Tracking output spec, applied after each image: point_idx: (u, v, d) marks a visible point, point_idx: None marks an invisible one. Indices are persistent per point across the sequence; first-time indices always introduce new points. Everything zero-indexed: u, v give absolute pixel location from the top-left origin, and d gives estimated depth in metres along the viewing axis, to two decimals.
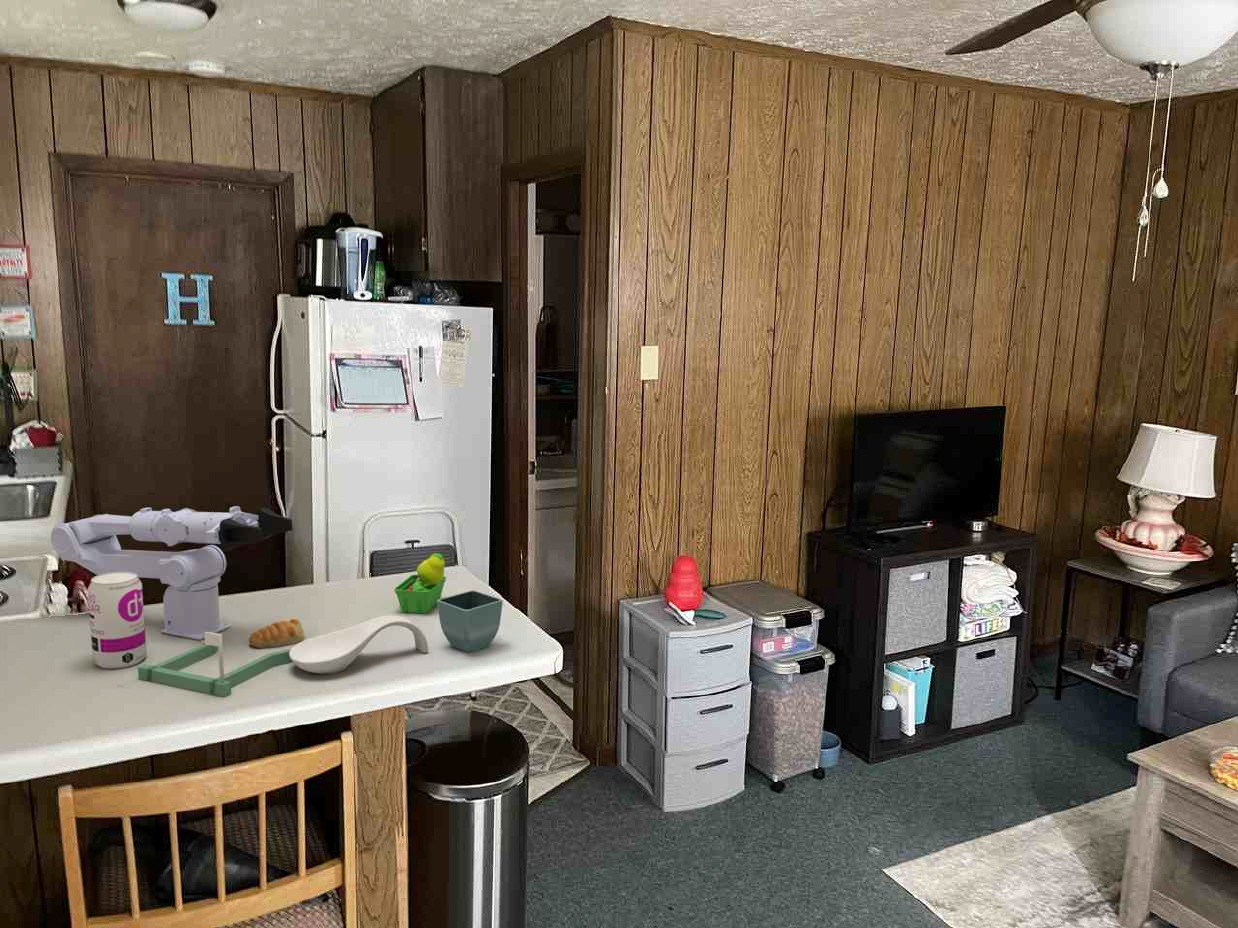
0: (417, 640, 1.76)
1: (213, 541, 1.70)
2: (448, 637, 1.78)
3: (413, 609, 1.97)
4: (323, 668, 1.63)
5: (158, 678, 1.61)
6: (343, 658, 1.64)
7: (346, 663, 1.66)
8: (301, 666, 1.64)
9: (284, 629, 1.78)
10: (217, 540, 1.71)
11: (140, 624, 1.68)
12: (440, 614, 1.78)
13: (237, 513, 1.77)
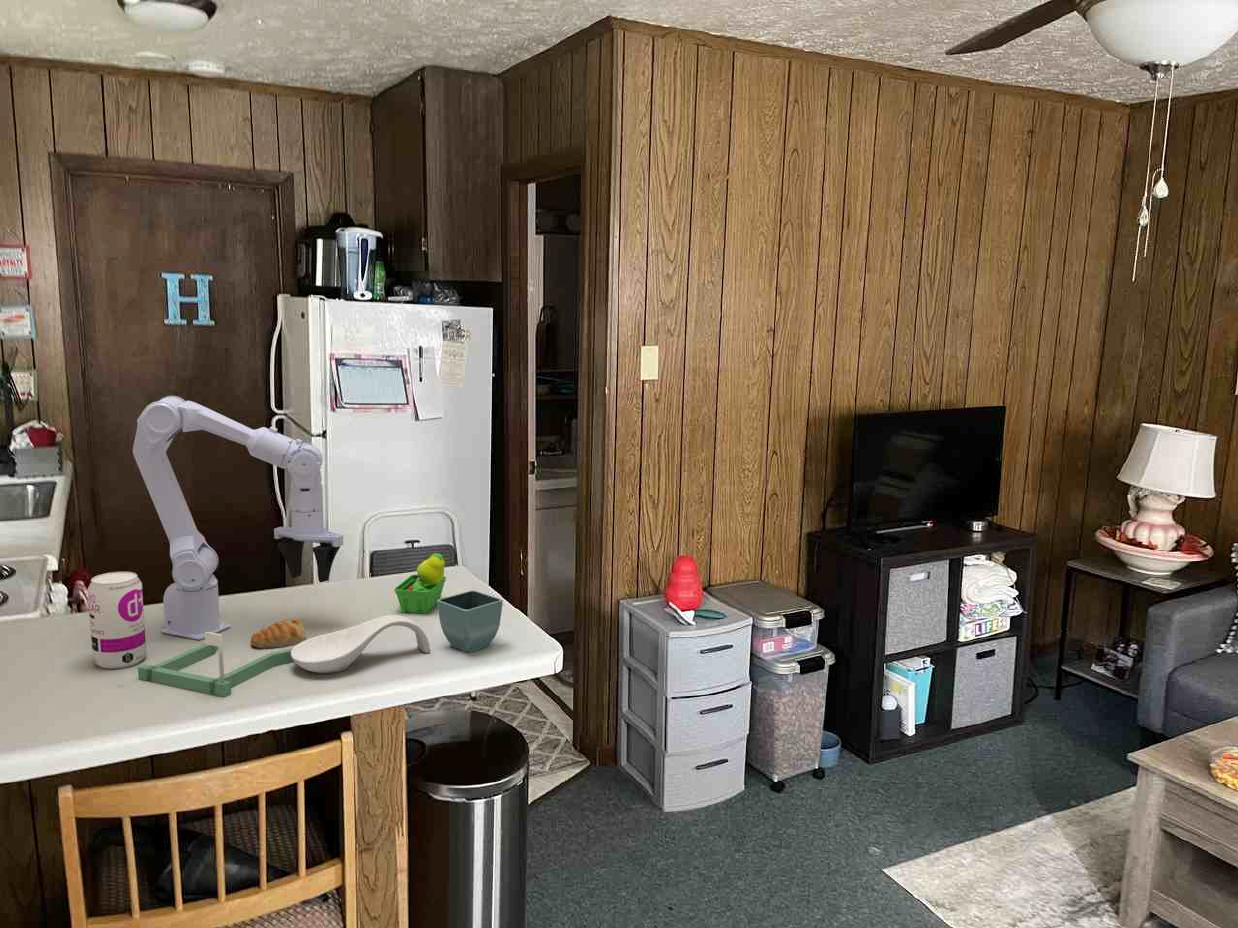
0: (419, 640, 1.76)
1: (338, 545, 1.83)
2: (448, 637, 1.78)
3: (413, 609, 1.97)
4: (324, 668, 1.64)
5: (158, 678, 1.61)
6: (344, 658, 1.65)
7: (347, 663, 1.66)
8: (302, 665, 1.64)
9: (285, 629, 1.78)
10: None
11: (140, 624, 1.68)
12: (440, 614, 1.78)
13: None
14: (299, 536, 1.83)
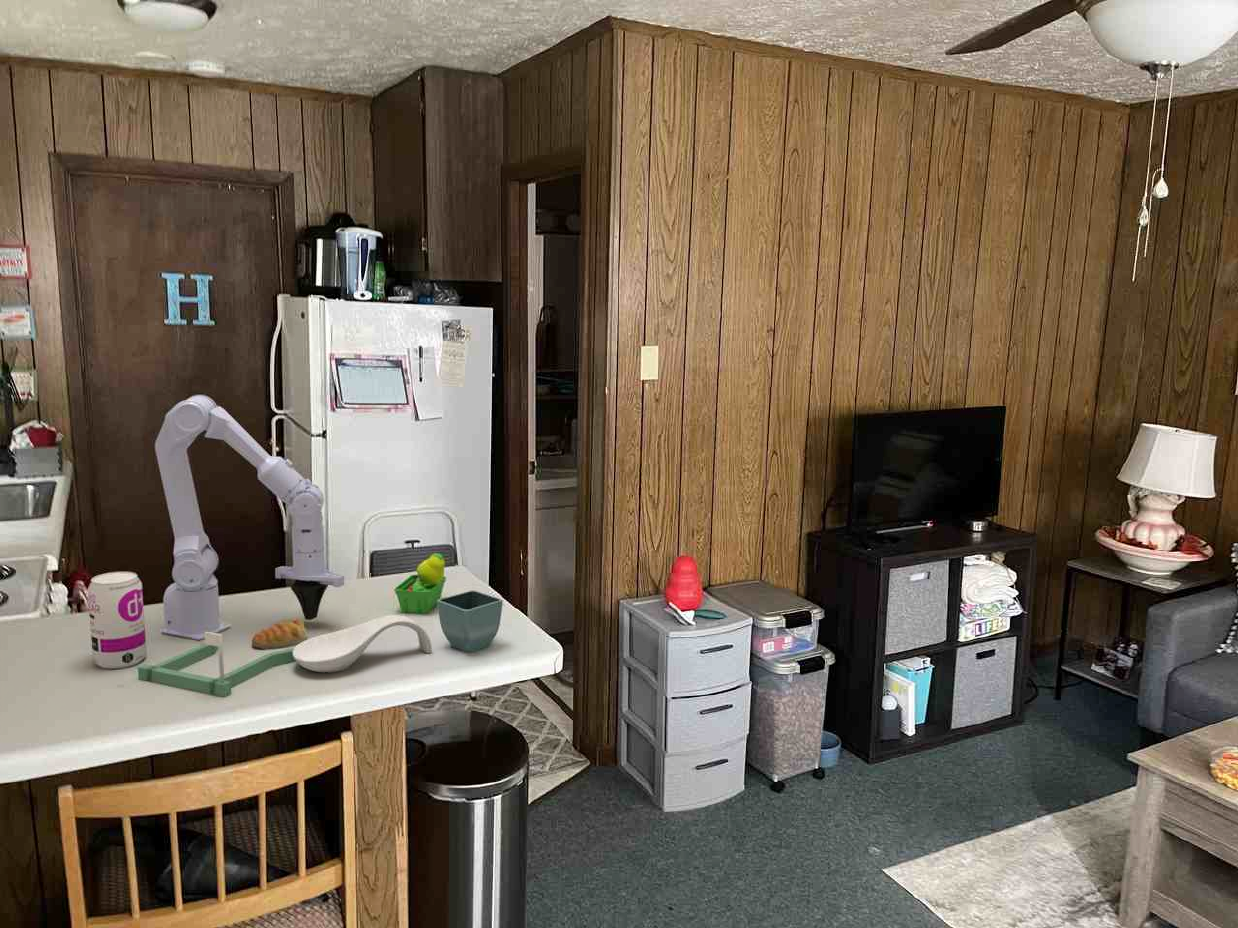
0: (421, 640, 1.76)
1: (338, 585, 1.84)
2: (448, 637, 1.78)
3: (413, 609, 1.97)
4: (325, 667, 1.64)
5: (158, 678, 1.61)
6: (345, 657, 1.65)
7: (348, 662, 1.67)
8: (303, 665, 1.64)
9: (287, 629, 1.78)
10: (335, 586, 1.84)
11: (140, 624, 1.68)
12: (440, 614, 1.78)
13: None
14: (300, 577, 1.84)
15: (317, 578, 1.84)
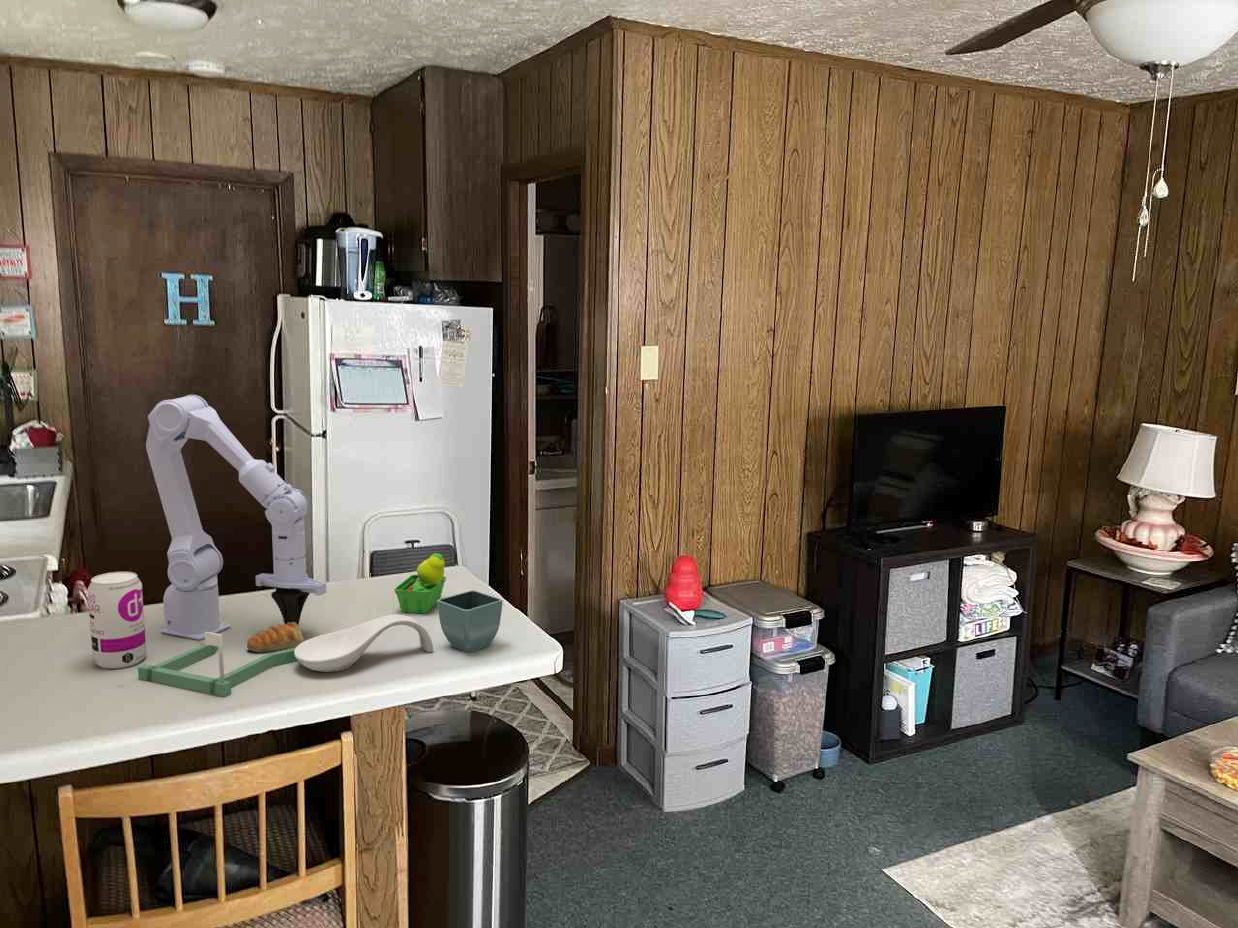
0: (422, 639, 1.77)
1: (320, 593, 1.79)
2: (448, 637, 1.78)
3: (413, 609, 1.97)
4: (327, 667, 1.64)
5: (158, 678, 1.61)
6: (347, 657, 1.65)
7: (350, 662, 1.67)
8: (305, 664, 1.65)
9: (283, 632, 1.76)
10: (317, 594, 1.79)
11: (140, 624, 1.68)
12: (440, 614, 1.78)
13: None
14: (281, 584, 1.79)
15: (298, 586, 1.79)
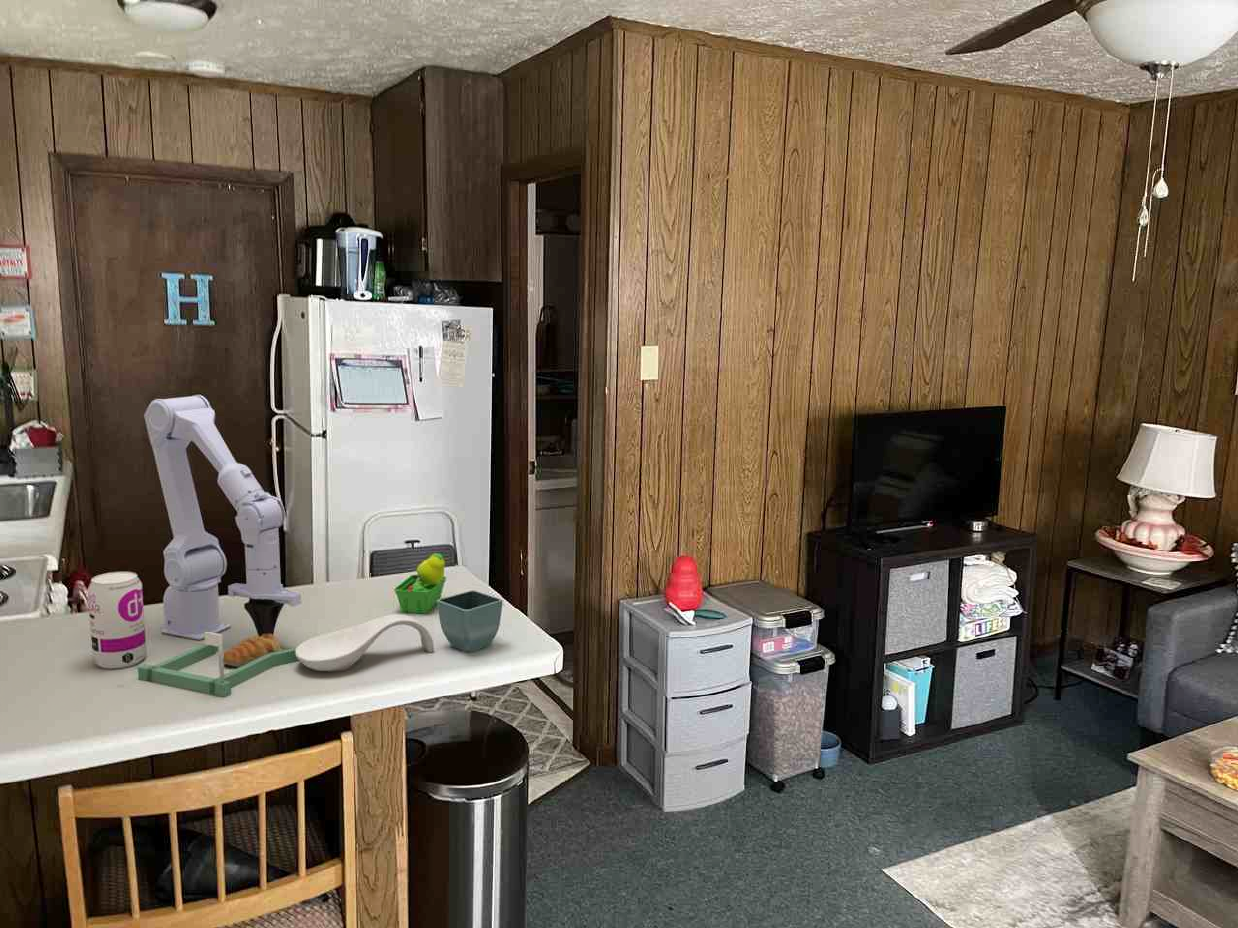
0: (423, 639, 1.77)
1: (295, 604, 1.73)
2: (448, 637, 1.78)
3: (413, 609, 1.97)
4: (328, 666, 1.65)
5: (158, 678, 1.61)
6: (348, 656, 1.65)
7: (351, 661, 1.67)
8: (306, 664, 1.65)
9: (261, 644, 1.70)
10: (291, 605, 1.73)
11: (140, 624, 1.68)
12: (440, 614, 1.78)
13: None
14: (254, 595, 1.73)
15: (272, 597, 1.73)
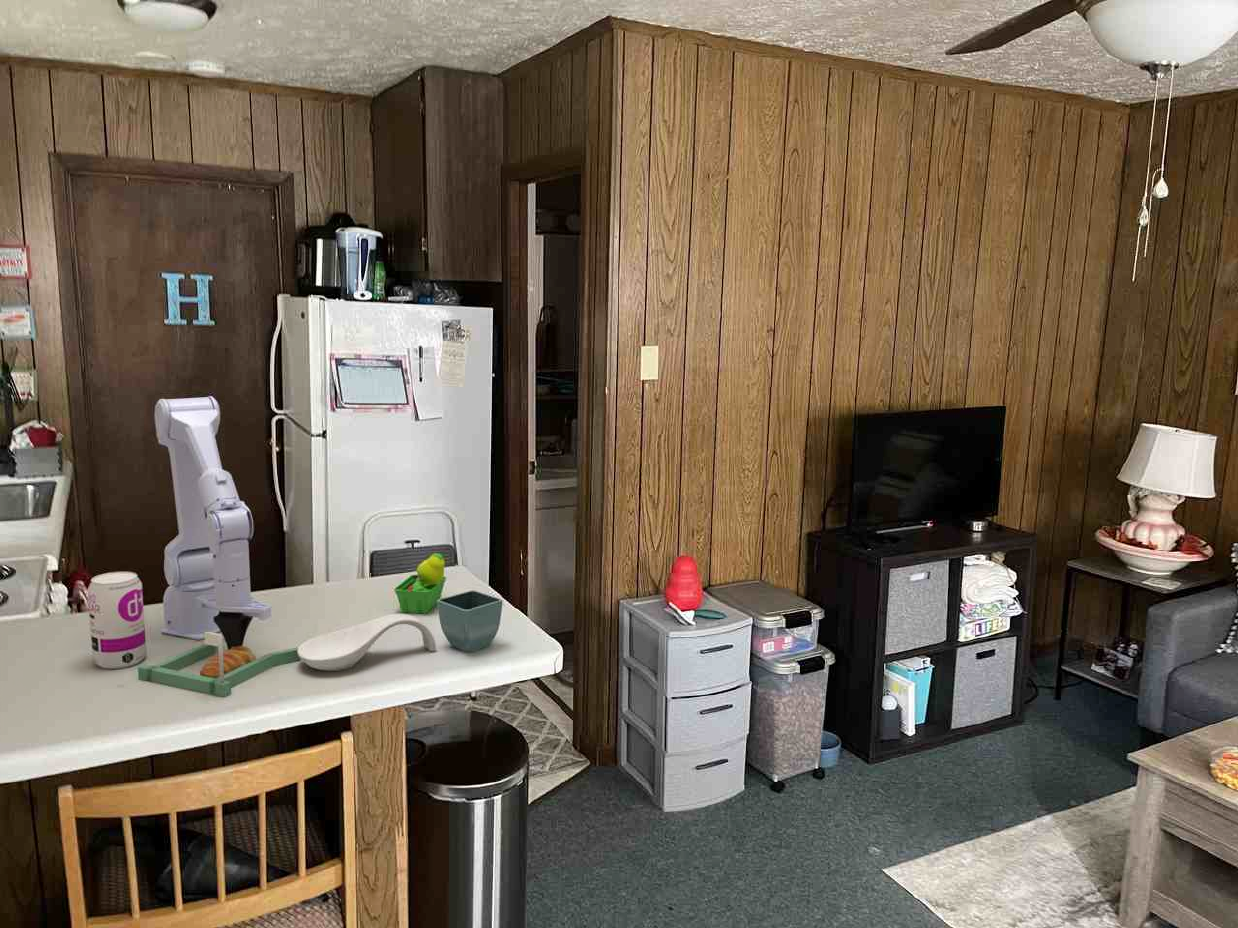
0: (425, 639, 1.77)
1: (264, 618, 1.66)
2: (448, 637, 1.78)
3: (413, 609, 1.97)
4: (330, 665, 1.65)
5: (158, 678, 1.61)
6: (350, 656, 1.66)
7: (353, 661, 1.67)
8: (308, 663, 1.65)
9: (239, 657, 1.64)
10: None
11: (140, 624, 1.68)
12: (440, 614, 1.78)
13: None
14: (222, 608, 1.66)
15: (240, 610, 1.66)
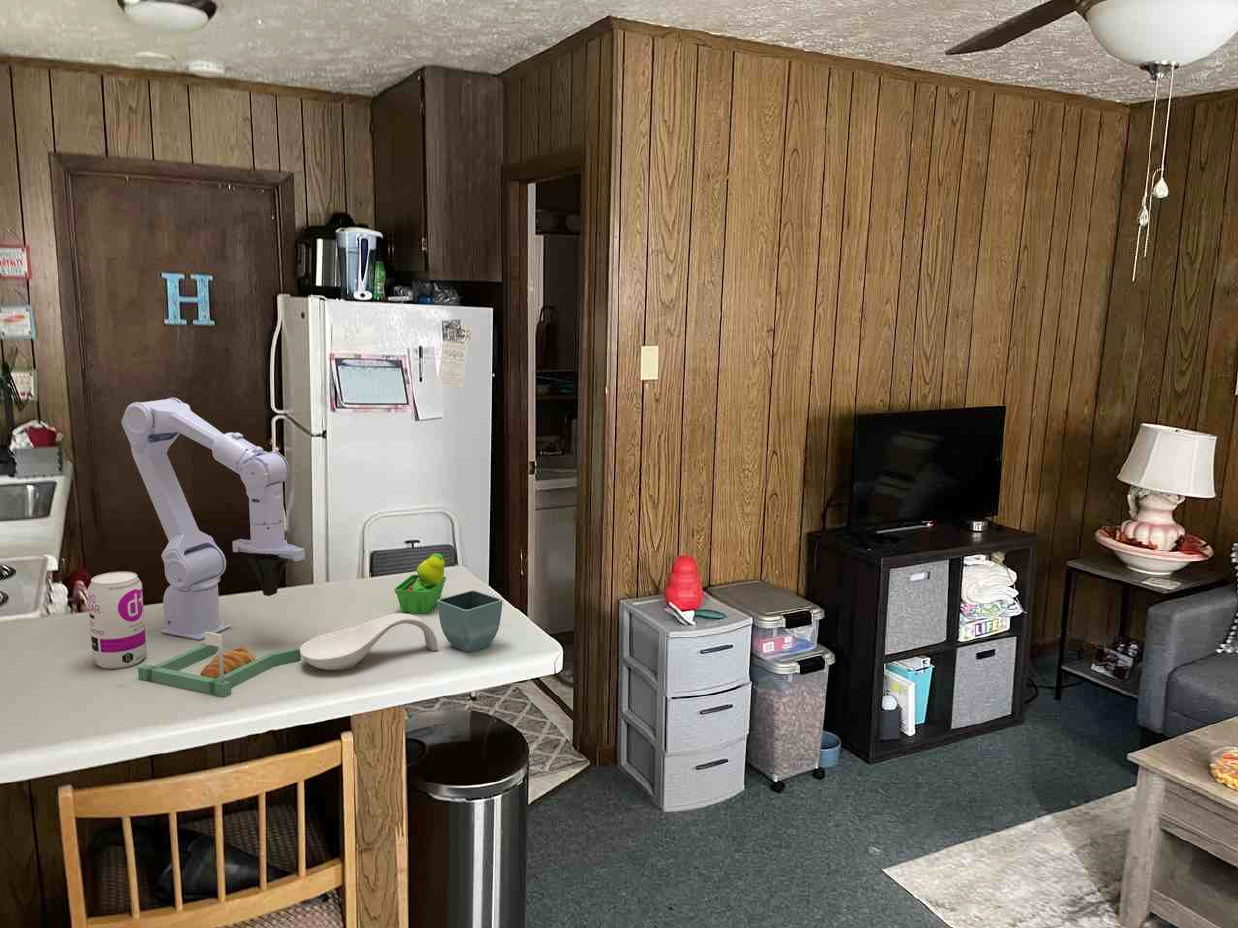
0: (427, 638, 1.77)
1: (298, 559, 1.73)
2: (448, 637, 1.78)
3: (413, 609, 1.97)
4: (332, 665, 1.65)
5: (158, 678, 1.61)
6: (353, 655, 1.66)
7: (355, 660, 1.67)
8: (311, 662, 1.65)
9: (240, 658, 1.64)
10: None
11: (140, 624, 1.68)
12: (440, 614, 1.78)
13: None
14: (258, 550, 1.73)
15: (275, 551, 1.73)
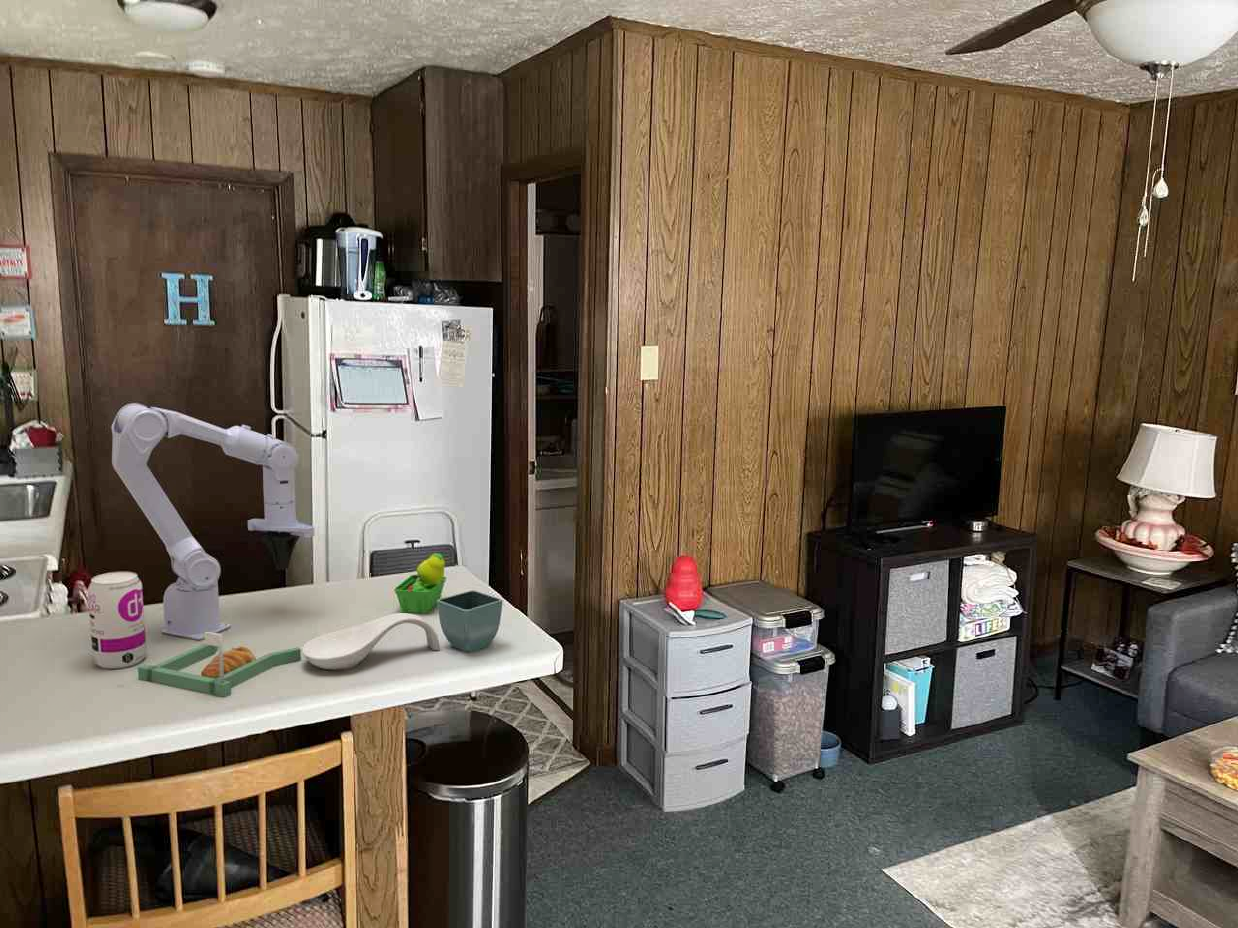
0: (429, 638, 1.78)
1: (309, 536, 1.89)
2: (448, 637, 1.78)
3: (413, 609, 1.97)
4: (334, 664, 1.65)
5: (158, 678, 1.61)
6: (355, 654, 1.66)
7: (357, 660, 1.68)
8: (313, 662, 1.66)
9: (240, 658, 1.64)
10: None
11: (140, 624, 1.68)
12: (440, 614, 1.78)
13: None
14: (271, 527, 1.89)
15: (288, 529, 1.89)
